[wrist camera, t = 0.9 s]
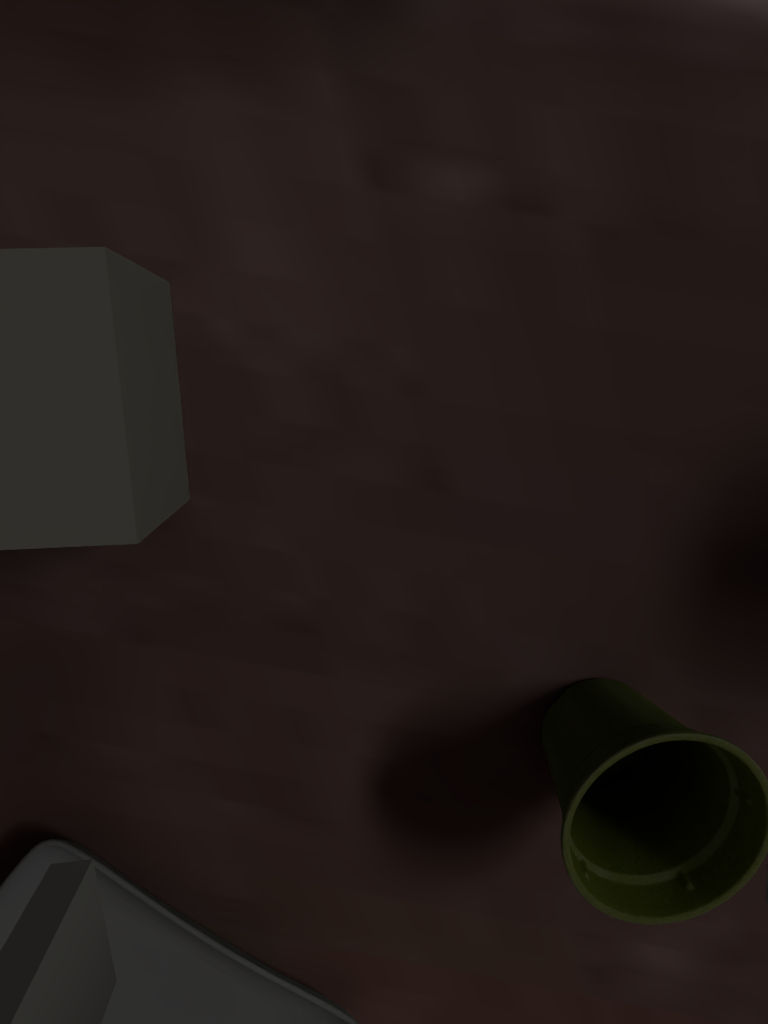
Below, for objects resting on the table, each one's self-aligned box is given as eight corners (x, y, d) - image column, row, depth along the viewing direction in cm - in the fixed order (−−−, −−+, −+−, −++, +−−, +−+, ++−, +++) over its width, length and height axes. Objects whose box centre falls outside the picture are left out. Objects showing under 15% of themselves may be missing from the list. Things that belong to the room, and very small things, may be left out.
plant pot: (680, 787, 38) (778, 905, 30) (519, 816, 38) (572, 944, 29) (671, 636, 36) (774, 716, 28) (502, 664, 36) (553, 754, 27)
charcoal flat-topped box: (-60, 287, 30) (-218, 253, 22) (169, 282, 31) (104, 247, 22) (-25, 508, 32) (-156, 557, 24) (189, 499, 33) (137, 543, 24)
